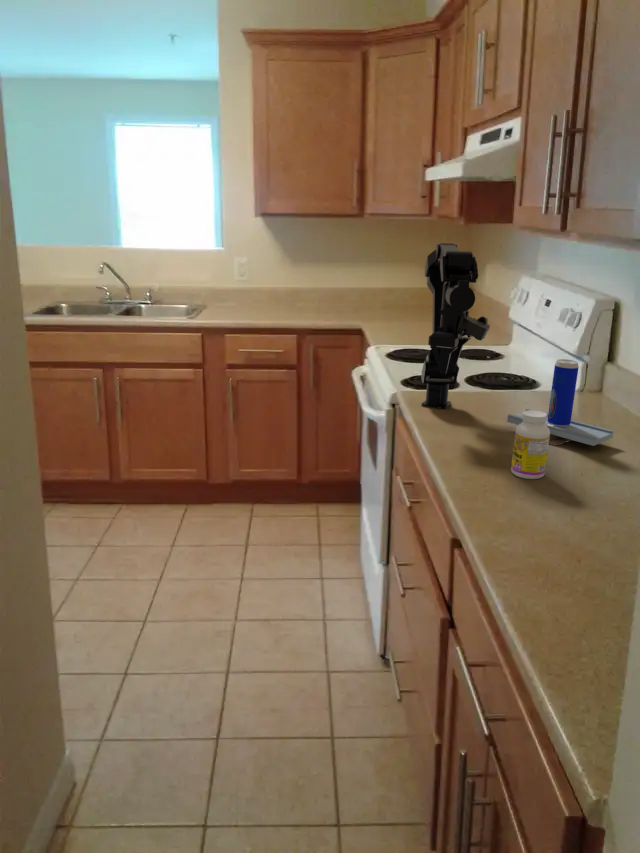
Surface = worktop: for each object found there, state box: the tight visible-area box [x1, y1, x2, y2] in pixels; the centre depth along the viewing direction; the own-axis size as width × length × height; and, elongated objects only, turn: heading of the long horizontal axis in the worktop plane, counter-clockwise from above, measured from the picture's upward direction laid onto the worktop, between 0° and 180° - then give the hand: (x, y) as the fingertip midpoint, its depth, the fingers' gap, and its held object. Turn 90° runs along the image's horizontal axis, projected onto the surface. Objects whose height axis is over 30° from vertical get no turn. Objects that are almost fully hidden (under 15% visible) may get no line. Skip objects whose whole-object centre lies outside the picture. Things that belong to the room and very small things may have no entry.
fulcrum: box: [549, 434, 571, 446], centre depth 175 cm, size 6×11×2 cm, turn 134°
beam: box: [506, 408, 614, 447], centre depth 174 cm, size 22×9×2 cm, turn 44°
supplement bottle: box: [510, 409, 550, 480], centre depth 149 cm, size 7×7×13 cm
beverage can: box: [547, 358, 579, 427], centre depth 172 cm, size 5×5×15 cm
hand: (448, 370), depth 181 cm, fingers open, 9 cm apart
